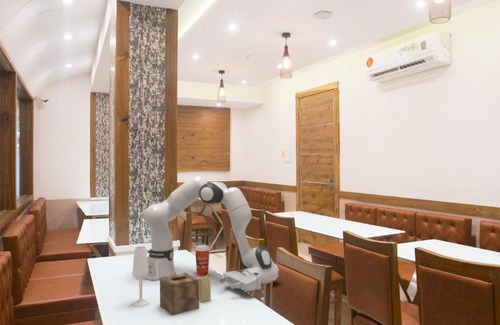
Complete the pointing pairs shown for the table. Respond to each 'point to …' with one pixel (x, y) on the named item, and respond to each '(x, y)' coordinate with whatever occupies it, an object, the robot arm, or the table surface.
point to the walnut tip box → (179, 293)
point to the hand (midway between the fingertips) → (225, 283)
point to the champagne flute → (140, 271)
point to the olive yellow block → (204, 289)
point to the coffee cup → (202, 259)
